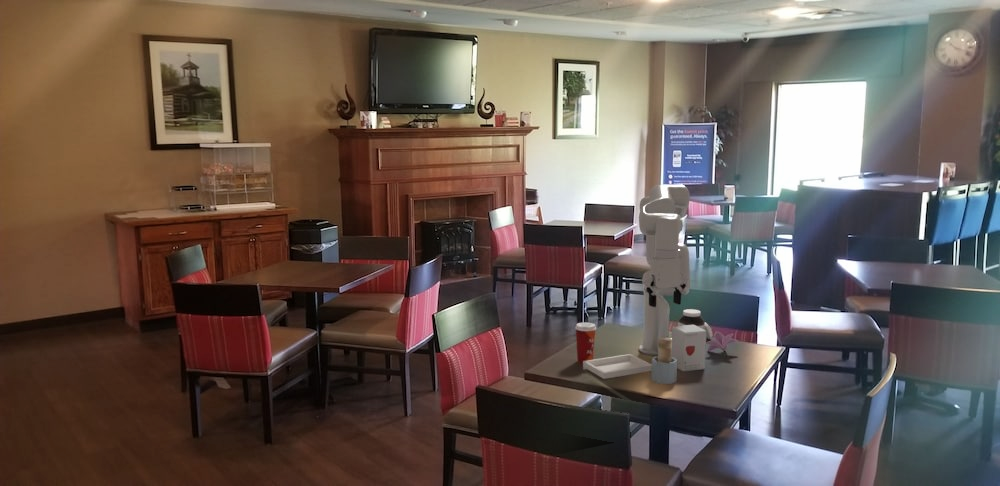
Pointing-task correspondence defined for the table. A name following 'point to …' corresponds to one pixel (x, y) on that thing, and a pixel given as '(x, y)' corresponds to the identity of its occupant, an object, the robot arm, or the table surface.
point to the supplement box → (689, 347)
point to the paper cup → (585, 341)
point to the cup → (664, 371)
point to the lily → (721, 341)
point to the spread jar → (695, 321)
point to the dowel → (664, 350)
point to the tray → (617, 366)
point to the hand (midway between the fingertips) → (664, 304)
